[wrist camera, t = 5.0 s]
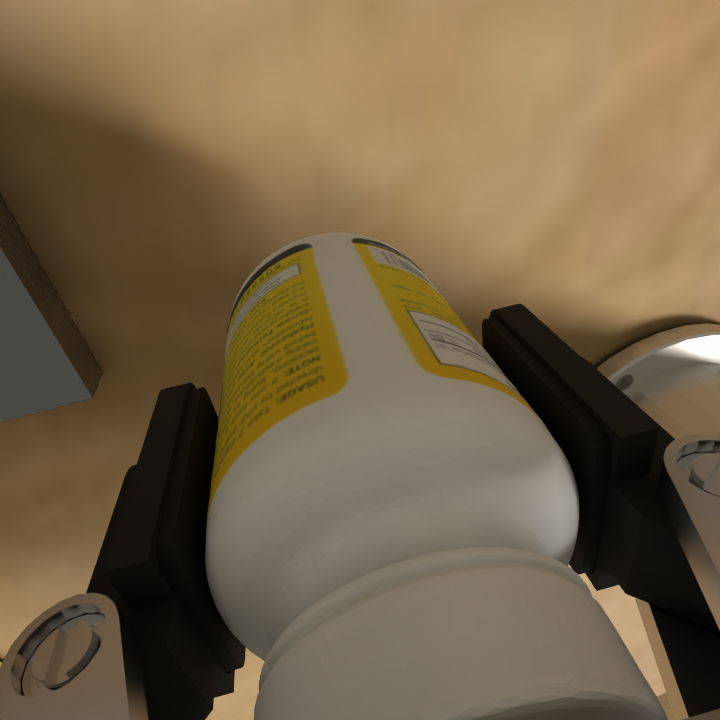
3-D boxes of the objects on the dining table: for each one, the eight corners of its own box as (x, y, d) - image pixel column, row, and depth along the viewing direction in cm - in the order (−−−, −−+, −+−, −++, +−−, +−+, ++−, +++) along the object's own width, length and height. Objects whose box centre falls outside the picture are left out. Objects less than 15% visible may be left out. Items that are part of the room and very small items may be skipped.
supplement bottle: (243, 422, 14) (216, 958, 5) (213, 233, 11) (61, 737, 3) (428, 403, 15) (647, 843, 6) (443, 221, 12) (879, 583, 3)
